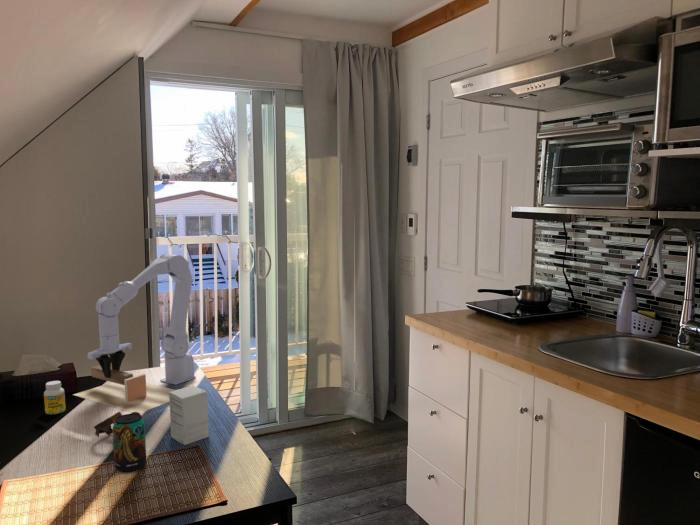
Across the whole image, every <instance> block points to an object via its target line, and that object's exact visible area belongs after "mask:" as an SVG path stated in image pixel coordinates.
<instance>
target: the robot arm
mask: <svg viewBox="0 0 700 525" xmlns="http://www.w3.org/2000/svg"><path fill="white" fill-rule="evenodd" d="M189 264H190V263H189V261H188V260H187V259H186V258H185V257H184V256H183V255H180V254H172V253H169V252H166V253H163V254H161V255H160V256H159V257H157V258H155V259H154V260H153V262H151V263H150V264H149V265H148V266H147V267H146V268H144V270H143V271H142V272H140V273H139V274H138V275H137V276H136V277H134V278H133V279H131V281H128V280H125V281H123V282H122V281H121V282H120V283H118V286H117V287H116V288H115V289H113V290H111V292H107V293H106V296H102V297H100V298H98V300H97V301H96V304H95V306H94V309H95V311H96V313H98V331H99V334H98V335H99V348H97V349H95V350H93V351H90V352H87V360H91V361H92V360H96V361H97V362H98V363H99V366H101V368H102V370H103V373H104V376H105V377H106V378H110V376H111V369H114V370H119V371H121V370H120V369H121V366H122V362H123V360H124V359H125V357H126V352H125V351H127V350H128V351H129V350H132V349H133V348H132V343H130V342H126V343H120V333H119V332H120V331H119V330H120V329H119V318H118V317H119V316H118V315H119V313H120V311H121V308H123V306H125V305H126V304H127V303H129V302H130V301H132V299H133V298H135V297H136V296H137V295H138V294H139V293H138V292H139V289H140V288H142V287H143V286H144V285H146V284H147V283H149V282H150V281H152V280H153V279H154V278H155V277H157V276H158V275H169V276H170V277H171V278H172V280H174V283H175V286H174V292H173V299H172V305H171V311H170V312H171V313H170V318H169V325H168V328H166V330H165V332H164V336H163V338H162V339H161V341H160V346H161V349H162V351H164V371H165V372H164V374H165V378H163V379H162V378H161V379H160V380H159V382H163V383H166V384H170V385H175V386H176V385H179V384H183V383H184V382H187V381H191V380H194V379H196V377H197V376H196V375H195V361H194V357H193V355H192V354H191V353H190V352H189V350H190V344H189V335H188V333H187V332H188V331H187V330H186V324H187V319H188V311H189V304H190V298H191V290H192V283H193V276H192V272H191V270H190V267H189Z"/></svg>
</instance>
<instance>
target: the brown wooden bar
mask: <svg viewBox="0 0 700 525" xmlns="http://www.w3.org/2000/svg"><path fill="white" fill-rule="evenodd" d="M90 368H91V377H92V378H95V379H99V380H101V381H102V380H103V381H107V382H109V383H112V382H114V383H117V384H121V385H125V384H124V380H125V379H128V378H131V377H134V376H133V373H130V372H127V371H126V372H125V371H122V370H114V369H112V368H111V376H110V378H106V377H105V376H104V373H103V370H102V368H101V366H100V365H95V366H92V367H90Z"/></svg>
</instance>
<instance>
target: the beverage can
mask: <svg viewBox="0 0 700 525" xmlns="http://www.w3.org/2000/svg"><path fill="white" fill-rule="evenodd" d="M141 416H142V414H140V415H139V414H131V413H125V414H122V415H121V416H119V417H117V418H116V419H115V424H112V425H113V426H112V427H111V428H112V429H113V433H112V444H113V458H114V459H113V460H114V463H113V464H114V469H115V470H116V471H118V472H120V473H124V474H126V473H127V474H130V473H135V472H138V471H140V470H142V469H143V468H144V467H145V465H146V464H147V461H148V460H147V443H146V424H145V421H144V419H143V418H142V419H141Z"/></svg>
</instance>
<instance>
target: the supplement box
mask: <svg viewBox="0 0 700 525" xmlns="http://www.w3.org/2000/svg"><path fill="white" fill-rule="evenodd" d="M174 390H175V391H171V392H169V402H168V403H169V415H170V437H171V438H172V439H173V440H175V441H177V442H178V443H180V444H182V445H183V446H186V445H189V444H192V443H195V442H198V441H200V440H203V439H206V438H209V437H210V432H209V431H210V430H209V406H208V391H206V390H204V389H202V388H201V387H200V388H199V387H197V386H194V385H190V386H186V387H182V388H180V389H174Z"/></svg>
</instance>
